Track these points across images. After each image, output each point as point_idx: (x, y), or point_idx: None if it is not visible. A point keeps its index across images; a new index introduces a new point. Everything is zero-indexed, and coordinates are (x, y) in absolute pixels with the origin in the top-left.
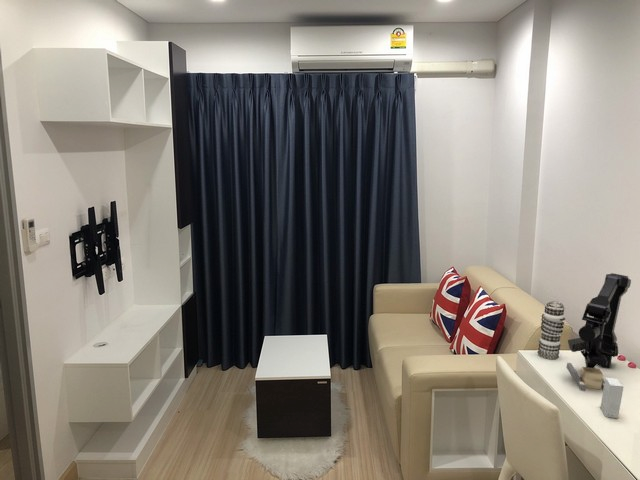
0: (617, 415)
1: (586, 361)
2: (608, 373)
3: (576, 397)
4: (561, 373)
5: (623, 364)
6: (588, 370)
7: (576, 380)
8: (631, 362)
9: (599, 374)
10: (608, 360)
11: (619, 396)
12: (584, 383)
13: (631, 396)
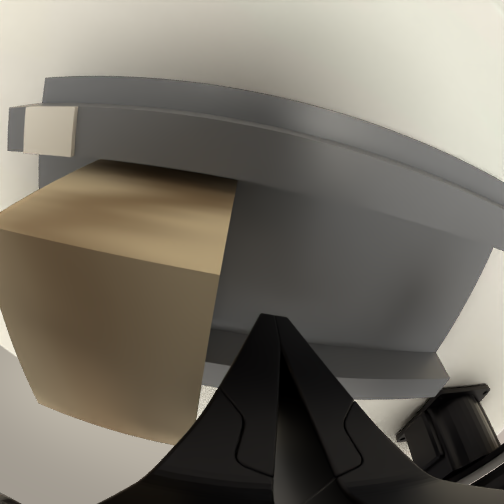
0: None
1: (271, 442)
2: (377, 418)
3: (3, 57)
4: (449, 110)
5: None
6: (66, 308)
7: (177, 111)
8: None
9: (28, 374)
10: (421, 466)
11: None
12: (79, 169)
13: None
